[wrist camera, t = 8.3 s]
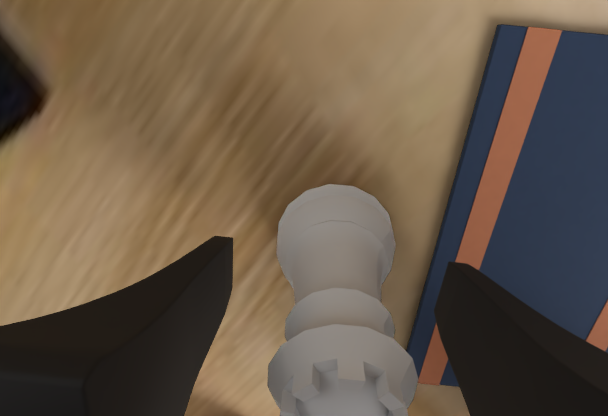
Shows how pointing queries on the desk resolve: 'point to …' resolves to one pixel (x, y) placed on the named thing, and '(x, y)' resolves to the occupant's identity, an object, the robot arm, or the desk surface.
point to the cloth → (530, 189)
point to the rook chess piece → (339, 310)
